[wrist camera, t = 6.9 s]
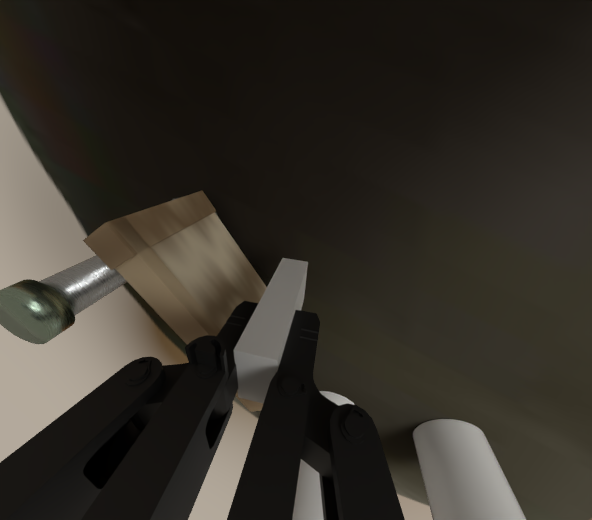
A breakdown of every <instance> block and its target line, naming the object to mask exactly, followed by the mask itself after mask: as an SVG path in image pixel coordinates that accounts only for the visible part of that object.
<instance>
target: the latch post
mask: <svg viewBox="0 0 592 520" xmlns="http://www.w3.org/2000/svg"><path fill="white" fill-rule="evenodd" d="M175 199H178V197H176V198H173V200H175ZM215 213H216V212H215ZM216 215H217V213H216ZM126 282H127V281H126V280H125V278H124V277H123V276H122V275H121V274H120V273H119V272H118V271H117V270H116V269H115V268H114V269H112V270H111V269H110V268H109V267H108V266H107V265H106V264H105V263H104V262H103V261H102V260H101V259H100V258H99V257H98V256H97V255H96V256H94V257H92V258H90V259H88V260H86V261H83V262H81V263H79V264H77V265H74V266H72V267H70V268H68V269H66V270H63V271H61V272H59V273H57V274H55V275H52V276H50V277H48V278H46V279H44V280H41V281H39V282H38V281H35V280H23V281H20V282H18V283H16V284H14V285H11V286H9V287H7V288H4V289H2V290H0V324H1V325H2V326H3V327H4V328H6V329H7V330H8V331H10V332H11V333H13V334H14V335H16V336H17V337H19V338H21V339H23V340H25V341H28V342H31V343H35V344H44V343H46V342H48V341H50V340H51V339H52V338H54V337H56V336H57V335H58V334H60V333H61V332H63V331H64V330H66V329H67V328H69V327H70V326H72V325H73V324H74V322H75V315H76V314H78V313H79V312H81V311H82V310H84V309H85V308H87V307H88V306H90V305H92V304H93V303H95V302H96V301H98V300H100V299H101V298H103V297H104V296H106V295H107V294H109V293H110V292H112V291H114V290H115V289H116V288H118V287H120V286H121V285H123V284H125V283H126Z"/></svg>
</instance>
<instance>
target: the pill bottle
mask: <svg viewBox="0 0 592 520" xmlns="http://www.w3.org/2000/svg"><path fill="white" fill-rule="evenodd" d="M413 440H414V444H415V448H416V452H417V456H418V460H419V464H420V468H421V472H422V476H423V481H424V485H425V489H426V493H427V497H428V501H429V505H430V509H431V513H432V517H433V520H526V518H525V516H524V514H523V512H522V510H521V508H520V506H519V504H518V502H517V499H516V497H515V495H514V493H513V491H512V489H511V487H510V485H509V483H508V481H507V479H506V477H505V475H504V473H503V471H502V469H501V467H500V465H499V463H498V461H497V459H496V457H495V455H494V453H493V451H492V449H491V447H490V445H489V443H488V441H487V439H486V437H485V434H484V433H483V432H482V431H481V430H480V429H479V428H478V427H476V426H474V425H472V424H470V423H468V422H465V421H461V420H455V419H435V420H430V421H427V422H424V423H422V424H420V425H419V426H417V427H416V428H415V430H414V431H413Z"/></svg>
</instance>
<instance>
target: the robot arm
mask: <svg viewBox="0 0 592 520" xmlns="http://www.w3.org/2000/svg"><path fill="white" fill-rule="evenodd" d="M307 266H308V262H305V261H299V260H293V259H286V258H282V260H281V262H280V264H279V266H278V268H277V270H276V271H275V273H274V275H273V277H272V279H271V281H270V283H269V285H268V286H267V288H266V290H265V292H264V294H263V296H262V298H261V300H260V301H259V303H254V302H249V301H243V302H242V303H241V304H239V305H238V306H236V307H235V309H234V310H233V312H232V313H231V316H230V317H229V318H228V320H227V321H226V324H224V326H223V327H222V329H221V330H220V332H219V333H218V335H217V336H210V335H206V336H202V337H198V338H197V339H195V340H193V341H191V342H190V343H189V344H188V345H187V346H186V347H185V349H186V353H187V357H188V361H189V363H185V364H177V365H167V366H162V363H161V362H160V361H159V360H158V359H157V358H154V357H142V358H140V359H137V360H134V361H132V362H131V363H129V364H127V365H126V366H124V368H122V369H120V370H119V371H118V372H117V373H115V374H114V375H113V376H111V377H110V378H109V379H108V380H106V381H105V382H104V383H102V384H101V385H100V386H99V387H97V388H96V389H95V390H93V391H92V392H91V393H90V394H88V395H87V396H86V397H84V398H83V399H82V400H80V401H79V402H78V403H77V404H75V405H74V406H73V407H71V408H70V409H69V410H68V411H67V412H65V413H64V414H63V415H61V416H60V417H59V418H57V419H56V420H55V421H53V422H52V423H51V424H50V425H48V426H47V427H46V428H44V429H43V430H42V431H40V432H39V433H38V434H37V435H35V436H34V437H33V438H31V439H30V440H29V441H28V442H26V443H25V444H24V445H23V446H21V447H20V448H19V449H17V450H16V451H15V452H14V453H12V454H11V455H10V456H8V457H7V458H6V459H4V460H3V461H2V462H1V463H0V520H188V518H189V515H190V513H191V511H192V508H193V506H194V503H195V501H196V498H197V496H198V493H199V491H200V489H201V486H202V484H203V482H204V479H205V477H206V474H207V472H208V469H209V467H210V465H211V462H212V460H213V457H214V455H215V453H216V450H217V448H218V445H219V443H220V440H221V438H222V435H223V433H224V431H225V428H226V426H227V424H228V421H229V418H230V416H231V414H232V409H233V404H232V402H233V399H234V397H235V395H236V392H237V390H238V397H239V398H243V399H247V400H251V401H255V402H259V403H263V407H262V410H261V413H260V416H259V419H258V423H257V426H256V429H255V432H254V435H253V438H252V442H251V445H250V448H249V451H248V455H247V458H246V461H245V464H244V467H243V470H242V473H241V477H240V480H239V483H238V486H237V489H236V493H235V496H234V499H233V502H232V505H231V508H230V512H229V515H228V518H227V520H292V517H293V510H294V503H295V496H296V489H297V482H298V476H299V469H300V462H301V459H302V460H303V461H304V462H306V463H307V464H308V465H309V466H311V467H312V468H313V469H314V470H316V471H317V472H318V473H319V477H320V488H321V498H322V508H323V518H324V520H404V516H403V513H402V509H401V506H400V503H399V500H398V497H397V493H396V490H395V487H394V484H393V480H392V477H391V474H390V471H389V467H388V464H387V461H386V458H385V454H384V451H383V448H382V445H381V442H380V438H379V435H378V432H377V429H376V426H375V424H374V422H373V420H372V418H371V417H370V416H369V415H368V414H367V412H366V411H365V410H363V409H362V408H360V407H358V406H357V405H353V404H348V403H347V404H343V405H340V406H339V405H337V404H335V403H334V402H332V401H330V400H329V399H327V398H326V397H325V396H323V395H322V394H321V393H320V392H319V390H318V389H317V387H316V385H315V383H314V380H313V368H314V361H315V354H316V347H317V340H318V333H319V326H320V321H319V319H318V316H317V314H316V313H310V312H305V311H301V308H302V304H303V301H304V293H305V284H306V275H307Z"/></svg>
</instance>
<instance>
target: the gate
mask: <svg viewBox="0 0 592 520" xmlns="http://www.w3.org/2000/svg"><path fill="white" fill-rule="evenodd" d="M215 212H216V210H215V208H214V207H213V205H212V204H211V202H210V201H209V199H208V198H207V196H206V195H205V194H204V192H203V191H199V192H196V193H193V194H190V195H187V196H184V197H181V198H178V199H175V200H172V201H169V202H166V203H163V204H160V205H157V206H154V207H151V208H148V209H145V210H142V211H139V212H136V213H133V214H130V215H127V216H124V217H121V218H118V219H115V220H112V221H109V222H106V223H104V224H103V225H102V226H100V227H99V228H98V229H97V230H95V231H94V232H93V233H92V234H91V235H89V236H88V237H87V238H86V239H85V240H83V241H84V242H85V243H86V244H87V245H88V246H89V247H90V248H91V249H92V250H93V251H94V252H95V254H96V255H97V256H98V257H99V258H100V259H101V260H102V261H103V262H104V263H105V264H106V265H107V266H108V267H109V268H110V269H111V270H112V269H114V268H115V269H116V270H117V271H118V272H119V273H120V274H121V275H122V276H123V277H124V278H125V280H126V281H127V282H128V283H129V284H130V285H131V286H132V287H133V288H134V289H135V290H136V291H137V292H138V293H139V294H140V295H141V296H142V298H143V299H144V300H145V301H146V302H147V303H148V304H149V305H150V306H151V307H152V308H153V309H154V310H155V311H156V312H157V313H158V315H159V316H160V317H161V318H162V319H163V320H164V321H165V322H166V323H167V324H168V325H169V326H170V327H171V328H172V329H173V330H174V331H175V333H176V334H177V335H178V336H179V337H180V338H181V339H182V340H183V341H184V342H185V343H186V344H187V345H188V344H189V343H190V342H191V341H193V340H195V339H197V338H198V337H202V336H206V335H210V336H217V335H218V333H219V332H220V330H221V329H222V327H223V326H224V324H226V321H227V320H228V318H229V317H230V316H231V313H232V312H233V310H234V309H235V307H236V306H238V305H239V304H241V303H242V302H243V301H249V302H254V303H259V301H260V300H261V298H262V296H263V294H264V292H265V290H266V288H267V287H266V286H265V284H264V283H263V281H262V280H261V278H260V277H259V275H258V274H257V273H256V271H255V270H254V268H253V267H252V265H251V264H250V262H249V261H248V260H247V258H246V257H245V255H244V254H243V252H242V251H241V249H240V248H239V247H238V245H237V244H236V242H235V241H234V239H233V238H232V236H231V235H230V234H229V232H228V231H227V229H226V228H225V226H224V225H223V223H222V222H221V220H220V219H219V218H218V216H217V215H216V213H215ZM235 396H236V397H237V398H238V399H239V400H240V401H241V402H242V404H243V405H244V406H245V407H246V408H247V409H248V410H249V411H250V412H253V411H260V410H262V407H263V403H259V402H255V401H251V400H247V399H243V398H239V397H238V390H237V392H236V395H235Z"/></svg>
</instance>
